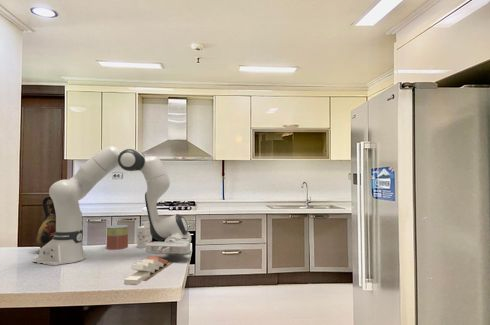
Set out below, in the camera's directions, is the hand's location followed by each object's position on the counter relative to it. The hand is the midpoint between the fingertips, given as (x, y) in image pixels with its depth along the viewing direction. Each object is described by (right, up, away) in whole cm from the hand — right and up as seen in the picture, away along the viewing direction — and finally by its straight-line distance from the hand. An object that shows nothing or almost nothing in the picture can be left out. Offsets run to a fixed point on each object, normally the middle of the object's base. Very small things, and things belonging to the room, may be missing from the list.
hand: (160, 251), depth 136 cm
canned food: (-35, -9, +39) cm, 54 cm away
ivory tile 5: (-3, -4, -14) cm, 15 cm away
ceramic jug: (-67, -9, +31) cm, 75 cm away
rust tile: (0, -5, +1) cm, 5 cm away
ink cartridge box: (-21, -9, +42) cm, 48 cm away
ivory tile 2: (0, -5, -3) cm, 6 cm away
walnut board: (-1, -7, -7) cm, 10 cm away
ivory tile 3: (-1, -5, -7) cm, 8 cm away
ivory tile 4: (-2, -5, -11) cm, 12 cm away
